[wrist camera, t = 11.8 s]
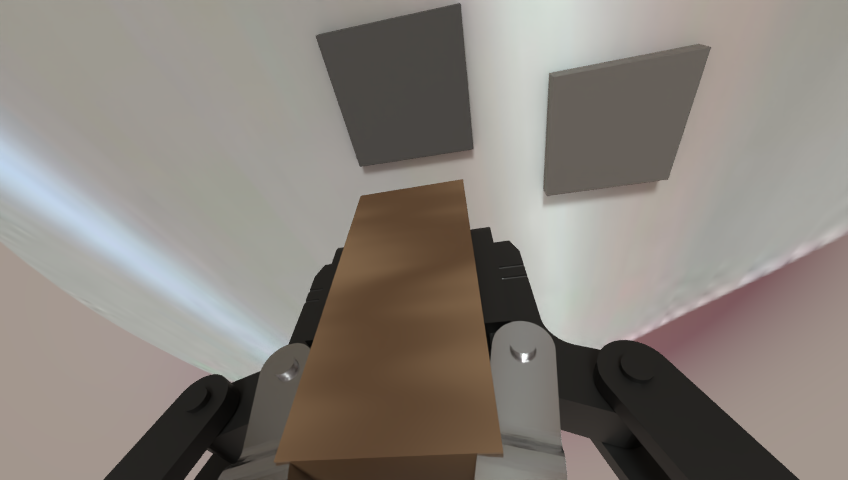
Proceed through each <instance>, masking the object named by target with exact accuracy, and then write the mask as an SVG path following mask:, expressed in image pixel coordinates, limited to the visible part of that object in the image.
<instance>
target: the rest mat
mask: <svg viewBox="0 0 848 480" xmlns="http://www.w3.org/2000/svg"><path fill="white" fill-rule="evenodd" d="M316 39H317V42H318V45H319V47H320V50H321V53H322V56H323V59H324V62H325V65H326V68H327V71H328V74H329V77H330V80H331V83H332V86H333V89H334V92H335V95H336V98H337V101H338V104H339V106H340V109H341V112H342V115H343V118H344V121H345V124H346V127H347V130H348V133H349V136H350V139H351V142H352V145H353V148H354V151H355V154H356V157H357V160H358V163H359V165H360V167H361V166H368V165H374V164H381V163H387V162H394V161H400V160H406V159H413V158H419V157H426V156H432V155H439V154H445V153H452V152H458V151H465V150H471V149H473V140H472V128H471V117H470V106H469V94H468V83H467V72H466V61H465V49H464V38H463V27H462V16H461V4H460V3H459V4H454V5H450V6H445V7H441V8H436V9H432V10H427V11H423V12H418V13H414V14H409V15H405V16H400V17H396V18H391V19H387V20H382V21H377V22H373V23H368V24H364V25H359V26H355V27H350V28H346V29H341V30H337V31H332V32H328V33H323V34H319V35H317V36H316Z"/></svg>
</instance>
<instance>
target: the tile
mask: <svg viewBox="0 0 848 480" xmlns="http://www.w3.org/2000/svg"><path fill="white" fill-rule="evenodd" d="M710 49H711V47H709V46H705V45H701V44H696V45H691V46H686V47H681V48H676V49H670V50H665V51H660V52H655V53H650V54H645V55H640V56H635V57H629V58H624V59H619V60H614V61H609V62H604V63H599V64H593V65H588V66H583V67H578V68H573V69H568V70H563V71H557V72H552V73H549V88H548V108H547V128H546V148H545V168H544V188H543V189H544V191H545V193H546V195H547V196H550V195H557V194H565V193H572V192H579V191H586V190H594V189H601V188H608V187H616V186H623V185H630V184H638V183H645V182H652V181H660V180H667V179H668V178H669V175H670V172H671V169H672V166H673V162H674V159H675V156H676V153H677V150H678V147H679V144H680V141H681V138H682V135H683V132H684V129H685V126H686V122H687V119H688V116H689V113H690V110H691V107H692V104H693V101H694V98H695V95H696V92H697V89H698V86H699V82H700V79H701V76H702V73H703V70H704V67H705V64H706V61H707V58H708V55H709V52H710Z"/></svg>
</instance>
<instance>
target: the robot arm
mask: <svg viewBox="0 0 848 480" xmlns="http://www.w3.org/2000/svg"><path fill="white" fill-rule="evenodd" d="M470 231H471V238H472V245H473V251H474V258H475V265H476V272H477V278H478V285H479V292H480V298H481V305H482V312H483V319H484V325H485V332H486V339H487V346H488V352H489V359H490V366H491V373H492V379H493V386H494V393H495V399H496V406H497V413H498V420H499V426H500V433H501V440H502V447H503V454H477V461H476V470H475V480H567V470H566V461H565V455H564V451H563V448H562V442H561V430H564V431H567V432H571V433H574V434H578V435H581V436H584V437H587V438H590V439H591V440H592V442H593V443H594V445H595V446H596V448H597V449H598V450H599V452H600V453H601V455H602V456H603V457H604V459H605V460H606V462H607V463H608V464H609V466H610V467H611V468H612V470H613V471H614V473H615V474H616V476H617V477H618V478H619V480H799V479H798V478H797V477H796V476H795V475H794V474H793V473H791V472H790V471H789V470H788V469H787V468H786V467H785V466H784V465H783V464H782V463H780V462H779V461H778V460H777V459H776V458H775V457H774V456H773V455H771V453H769V452H768V451H767V450H766V449H765V448H764V447H763V446H762V445H761V444H759V443H758V442H757V441H756V440H755V439H754V438H753V437H752V436H751V435H750V434H748V433H747V432H746V431H745V430H744V429H743V428H742V427H741V426H740V425H739V424H738V423H736V422H735V421H734V420H733V419H732V418H731V417H730V416H729V415H728V414H727V413H725V412H724V411H723V410H722V409H721V408H720V407H719V406H718V405H717V404H716V403H715V402H713V401H712V400H711V399H710V398H709V397H708V396H707V395H706V394H705V393H704V392H702V391H701V390H700V389H699V388H698V387H697V386H696V385H695V384H693V382H691V381H690V380H689V379H688V378H687V377H686V376H685V375H684V374H683V373H681V372H680V371H679V370H678V369H677V368H676V367H675V366H674V365H673V364H672V363H671V362H669V361H668V360H667V359H666V358H665V357H664V356H663V355H661V354H660V353H659V352H658V351H656V350H655V349H653V348H651V347H649V346H647V345H645V344H642V343H639V342H635V341H629V340H619V341H614V342H611V343H609V344H607V345H605V346H604V347H603V348H602V349H601V350H599V349H593V348H588V347H583V346H578V345H574V344H570V343H567V342H565V341H562V340H561V339H559V338H557V337H556V336H554V335H553V334H552V333H550V332H549V331H548V330H547V328H546V327H545V326H544V324H543V323H542V320H541V318H540V315H539V312H538V308H537V305H536V302H535V299H534V296H533V293H532V289H531V286H530V283H529V280H528V277H527V274H526V270H525V267H524V265H523V261H522V258H521V254H520V251H519V250H518V249H517V248H516V247H515V246H514V245H513V244H512V243H511V242H510V241H503V242H495V243H493V238H492V234H491V230H490V227H486V228H479V229H472V230H470ZM343 249H344V247H343V248H338V249H337V250H336V253H335V256H334V259H333V262H332V264H329V265H325V266H324V267H323V268H322V269H321V270H320V272H319V273H318V274H317V275H316V276H315V278H314V281H313V283H312V286H311V288H310V292H309V294H308V296H307V299H306V303H305V304H304V306H303V309H302V311H301V314H300V316H299V319H298V322H297V324H296V327H295V329H294V332H293V334H292V337H291V339H290V342H289V344H288V345H286V346H284V347H282V348H280V349H279V350H277V351H276V352H275V353H273V354H272V355H271V356H270V357H269V358H268V360H267V361H266V362H265V364H264V365H263V367H262V369H261V371H260V372H257V373H255V374H252V375H250V376H247V377H245V378H242V379H240V380H237V381H235V382H232V383H231V382H229V381H228V380H227V379H226V378H225V377H223V376H222V375H218V374H214V375H209V376H206V377H203V378H201V379H199V380H198V381H196V382H195V383H193V384H192V385H190V386H189V387H188V388H187V389H186V390H185V391H184V392H183V393H182V394H181V395H180V396H179V397H178V398H177V399H176V400H175V402H174V403H173V404H172V405H171V406H170V407H169V408H168V409H167V410H166V411H165V413H164V414H163V415H162V416H161V417H160V418H159V419H158V420H157V421H156V423H155V424H154V425H153V426H152V427H151V428H150V429H149V430H148V431H147V432H146V434H145V435H144V436H143V437H142V438H141V439H140V440H139V441H138V442H137V444H135V446H134V447H133V448H132V449H131V450H130V451H129V452H128V453H127V455H126V456H125V457H124V458H123V459H122V460H121V461H120V462H119V464H117V465H116V466H115V468H114V469H113V470H112V471H111V472H110V473H109V474H108V475H107V476H106V477H105V479H104V480H184V479H185V477H186V476H187V475H188V473H189V472H190V471H191V469H192V468H193V467H194V466H195V464H196V463H197V462H198V460H199V459H200V458H201V456H202V455H203V454H204V452H205V451H206V450H208V451H210V452H211V453H213V455H212V456H211V457H210V459H209V460H208V461H207V463H206V464H205V465H204V467H203V468H202V469H201V471H200V472H199V473H198V475H197V476H196V477H195V479H194V480H314V479H312V478H311V477H309V476H308V475H307V474H305V473H304V472H302V471H301V470H300V469H298V468H297V467H295V466H294V465H293V464H291V463H290V462H287V463H274V459H275V456H276V453H277V450H278V447H279V444H280V440H281V437H282V434H283V431H284V428H285V425H286V422H287V419H288V416H289V413H290V410H291V407H292V404H293V401H294V398H295V395H296V392H297V389H298V386H299V383H300V380H301V377H302V373H303V370H304V367H305V364H306V361H307V358H308V355H309V352H310V349H311V346H312V343H313V340H314V337H315V334H316V331H317V328H318V325H319V322H320V319H321V316H322V313H323V310H324V306H325V303H326V300H327V297H328V294H329V291H330V288H331V285H332V282H333V279H334V276H335V273H336V270H337V267H338V264H339V261H340V258H341V255H342V252H343Z"/></svg>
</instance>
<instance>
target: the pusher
mask: <svg viewBox="0 0 848 480" xmlns="http://www.w3.org/2000/svg"><path fill="white" fill-rule="evenodd" d="M477 454H503V447H502V440H501V433H500V426H499V420H498V413H497V406H496V399H495V393H494V386H493V379H492V373H491V366H490V359H489V352H488V346H487V339H486V332H485V325H484V319H483V312H482V305H481V298H480V292H479V285H478V278H477V272H476V265H475V258H474V251H473V245H472V238H471V231H470V224H469V218H468V211H467V204H466V197H465V191H464V184H463V179H461V180H455V181H449V182H443V183H437V184H431V185H425V186H418V187H412V188H406V189H400V190H394V191H388V192H381V193H375V194H369V195H363V196H361V197H360V200H359V203H358V206H357V209H356V212H355V215H354V218H353V221H352V224H351V227H350V230H349V233H348V236H347V239H346V242H345V246H344V249H343V252H342V255H341V258H340V261H339V264H338V267H337V270H336V273H335V276H334V279H333V282H332V285H331V288H330V291H329V294H328V297H327V300H326V303H325V306H324V310H323V313H322V316H321V319H320V322H319V325H318V328H317V331H316V334H315V337H314V340H313V343H312V346H311V349H310V352H309V355H308V358H307V361H306V364H305V367H304V370H303V373H302V377H301V380H300V383H299V386H298V389H297V392H296V395H295V398H294V401H293V404H292V407H291V410H290V413H289V416H288V419H287V422H286V425H285V428H284V431H283V434H282V437H281V440H280V444H279V447H278V450H277V453H276V456H275V459H274V463H287V462H290V463H291V464H293V465H294V466H295V467H297V468H298V469H300V470H301V471H302V472H304V473H305V474H307V475H308V476H309V477H311V478H312V479H314V480H475V470H476V461H477Z"/></svg>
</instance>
